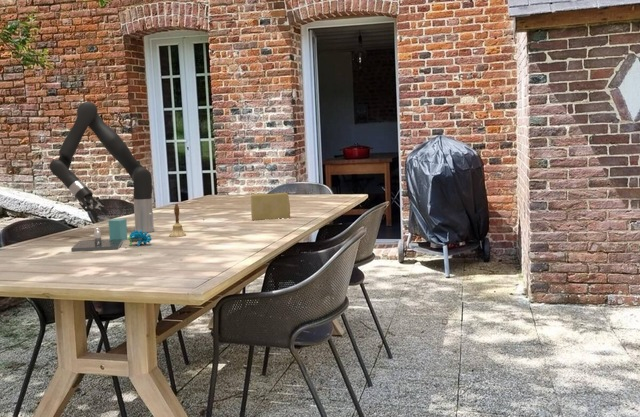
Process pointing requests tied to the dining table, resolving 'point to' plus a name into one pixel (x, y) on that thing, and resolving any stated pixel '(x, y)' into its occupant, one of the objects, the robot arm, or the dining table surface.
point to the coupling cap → (118, 229)
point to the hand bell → (177, 225)
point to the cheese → (270, 206)
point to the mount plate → (99, 246)
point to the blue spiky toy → (139, 237)
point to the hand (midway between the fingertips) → (102, 215)
